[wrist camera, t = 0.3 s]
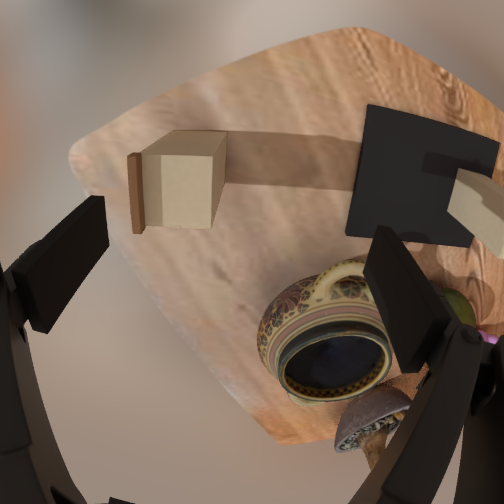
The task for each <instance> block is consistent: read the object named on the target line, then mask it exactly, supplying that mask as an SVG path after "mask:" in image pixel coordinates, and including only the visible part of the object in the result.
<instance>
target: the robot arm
mask: <svg viewBox="0 0 504 504" xmlns="http://www.w3.org/2000/svg"><path fill="white" fill-rule="evenodd" d="M108 247H109V238H108V229H107V220H106V210H105V199H104V196H94V195H91V196H90V197H88V198H87V199H86V200H85V201H84V202H83V203H81V204H80V205H79V206H78V207H77V208H76V209H75V210H73V211H72V212H71V213H70V214H69V215H68V216H66V217H65V218H64V219H63V220H62V221H61V222H60V223H59V224H58V225H57V226H55V228H54V229H52V230H51V231H50V232H49V233H48V234H47V235H46V236H45V237H44V238H43V239H42V240H39V241H37V242H35V243H34V244H32V245H31V246H29V248H27V250H25V251H24V253H22V255H20V256H19V259H17V260H15V262H13V263H12V264H11V266H10V267H9V268H8V269H7V270H6V271H5V272H4V273H3V270H2V267H1V263H0V504H87V502H86V501H85V499H84V497H83V496H82V494H81V493H80V491H79V490H78V489H77V487H76V486H75V484H74V483H73V481H72V479H71V477H70V475H69V472H68V470H67V468H66V465H65V463H64V460H63V458H62V456H61V453H60V451H59V448H58V445H57V443H56V440H55V437H54V435H53V432H52V429H51V426H50V423H49V420H48V417H47V414H46V411H45V408H44V404H43V401H42V397H41V394H40V390H39V387H38V383H37V379H36V375H35V371H34V367H33V362H32V358H31V353H30V348H29V343H28V338H27V332H26V330H25V328H24V324H25V322H26V321H27V320H29V322H30V324H31V327H32V329H33V330H34V331H38V332H41V333H45V334H48V333H49V331H50V330H51V328H52V327H53V325H54V324H55V322H56V321H57V319H58V317H59V316H60V314H61V313H62V311H63V310H64V308H65V307H66V305H67V304H68V302H69V301H70V299H71V298H72V297H73V295H74V294H75V292H76V291H77V289H78V288H79V286H80V285H81V283H82V282H83V281H84V279H85V278H86V277H87V275H88V274H89V272H90V271H91V270H92V268H93V267H94V266H95V264H96V263H97V261H98V260H99V259H100V258H101V256H102V255H103V254H104V252H105V251H106V250H107V248H108ZM362 273H363V275H364V278H365V280H366V282H367V285H368V287H369V289H370V292H371V294H372V297H373V299H374V301H375V304H376V306H377V309H378V311H379V314H380V316H381V319H382V321H383V324H384V327H385V329H386V332H387V334H388V337H389V340H390V342H391V345H392V348H393V350H394V353H395V356H396V359H397V361H398V364H399V367H400V370H401V373H402V374H404V373H419V371H420V370H421V368H422V367H423V365H424V364H425V362H426V364H427V366H428V368H429V370H428V372H427V373H426V375H425V376H424V377H423V379H422V380H421V382H420V383H419V384H418V386H417V387H416V388H417V389H418V391H417V393H416V395H415V397H414V399H413V401H412V403H411V405H410V407H409V409H408V410H407V412H406V414H405V416H404V418H403V420H402V422H401V423H400V425H399V427H398V429H397V431H396V432H395V434H394V436H393V437H392V439H391V441H390V442H389V444H388V446H387V448H386V449H385V451H384V452H383V454H382V455H381V457H380V459H379V460H378V462H377V463H376V465H375V466H374V468H373V469H372V471H371V472H370V474H369V475H368V477H367V478H366V480H365V481H364V483H363V484H362V485H361V487H360V488H359V490H358V491H357V492H356V494H355V495H354V496H353V498H352V499H351V501H350V502H349V503H348V504H431V503H432V501H433V499H434V497H435V494H436V492H437V490H438V488H439V486H440V484H441V482H442V479H443V477H444V475H445V472H446V470H447V468H448V465H449V463H450V460H451V458H452V455H453V453H454V450H455V448H456V445H457V442H458V439H459V437H460V434H461V430H462V428H463V425H464V429H463V441H462V451H461V459H460V467H459V474H458V480H457V486H456V492H455V497H454V502H453V504H504V335H501V336H500V338H499V339H498V341H497V342H496V344H493V343H490V342H486V341H484V338H483V336H482V334H481V333H480V332H479V331H478V330H477V329H476V328H474V327H473V326H471V325H468V324H463V323H462V322H461V320H460V319H459V317H458V315H457V314H456V312H455V311H454V309H453V307H452V306H451V304H449V301H448V299H447V298H445V295H444V293H443V292H442V290H441V289H440V288H439V287H438V286H437V285H436V284H435V283H434V282H433V281H432V280H428V279H427V278H426V276H425V275H424V273H423V272H422V270H421V269H420V267H419V266H418V264H417V263H416V261H415V260H414V258H413V257H412V255H411V254H410V252H409V251H408V250H407V248H406V247H405V245H404V244H403V243H402V241H401V240H400V238H399V237H398V236H397V234H396V233H395V231H394V230H393V229H392V227H389V226H382V225H377V227H376V231H375V234H374V237H373V241H372V244H371V247H370V250H369V254H368V257H367V260H366V263H365V266H364V269H363V272H362ZM104 504H107V503H104ZM108 504H134V503H130V502H126V501H123V500H119V499H115V498H112V497H110V499H109V503H108Z"/></svg>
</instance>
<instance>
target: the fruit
mask: <svg viewBox="0 0 504 504" xmlns="http://www.w3.org/2000/svg"><path fill="white" fill-rule="evenodd" d="M441 290H442V292H443V293H444V295H445V298H447V299H448V301H449V304H451V306H452V307H453V309H454V311H455V312H456V314H457V315H458V317H459V319H460V320H461V322H462V323H463V324H468V325H471V326H473V327H474V328H476V320H475V315H474V311H473V309H472V306H471V305H470V303H469V301H468V300H467V299H466V297H465V296H464V295H463V294H461V293H460V292H459V291H457V290H454V289H451V288H441ZM423 366H424V367H426V368H428V366H427V364H426V362H425V364H424V365H423Z"/></svg>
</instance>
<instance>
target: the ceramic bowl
mask: <svg viewBox="0 0 504 504" xmlns="http://www.w3.org/2000/svg"><path fill="white" fill-rule="evenodd" d="M365 263H366V262H364V261H359V260H345V261H342V262H339V263H337V264H335V265H334V266H331V267H329V268H328V269H326V270H325V271H323V272H322V273H321V274H319V275H314V276H311V277H308V278H305V279H303V280H301V281H298V282H296V283H294V284H293V285H291V286H289V287H288V288H287V289H285V290H284V291H283V292H281V293H280V294H279V295H278V296H277V297H276V298H275V299H274V300H273V301H272V303H271V304H270V305H269V306H268V308H267V309H266V311H265V313H264V315H263V317H262V319H261V322H260V325H259V329H258V335H257V346H258V352H259V355H260V358H261V361H262V363H263V364H264V366H265V367H266V368H267V370H268V371H269V372H270V373H271V374H272V375H273V376H274V377H275V378H276V379H278V380H279V382H280V383H281V385H282V387H283V388H284V389H285V390H286V391H287V394H288V396H289V398H290V399H291V400H292V401H294V402H295V403H297V404H298V405H301V406H316V405H319V404H322V403H324V402H330V401H339V400H345V399H349V398H353V397H356V396H359V395H361V394H363V393H365V392H367V391H369V390H370V389H372V388H374V387H375V386H376V385H377V384H378V383H379V382H380V381H382V379H383V378H384V377H385V376H386V375H387V373H388V371H389V369H390V367H391V364H392V354H393V353H394V350H393V348H392V345H391V342H390V340H389V337H388V334H387V332H386V329H385V327H384V324H383V321H382V319H381V316H380V314H379V311H378V309H377V306H376V304H375V301H374V299H373V297H372V294H371V292H370V289H369V287H368V285H367V282H366V280H365V279H362V278H360V277H357V276H353V275H358V276H362V277H364V275H363V273H362V272H363V269H364V266H365Z"/></svg>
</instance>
